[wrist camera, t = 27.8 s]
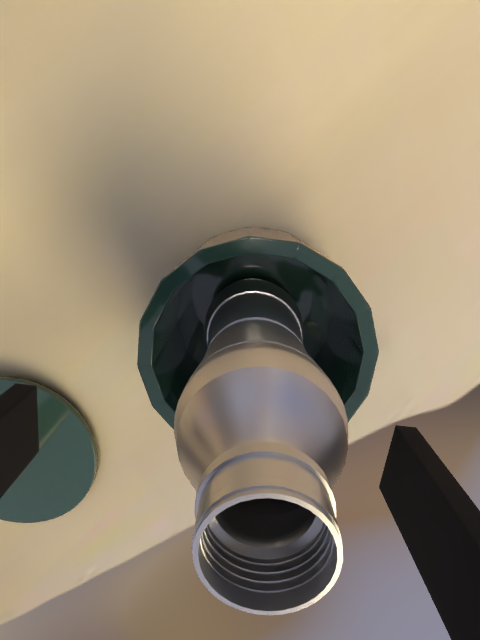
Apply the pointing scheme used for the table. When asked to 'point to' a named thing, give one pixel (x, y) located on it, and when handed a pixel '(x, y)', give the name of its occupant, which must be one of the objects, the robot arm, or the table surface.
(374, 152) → the table surface
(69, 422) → the crock lid
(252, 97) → the table surface
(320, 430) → the silver metal flask
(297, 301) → the crock
